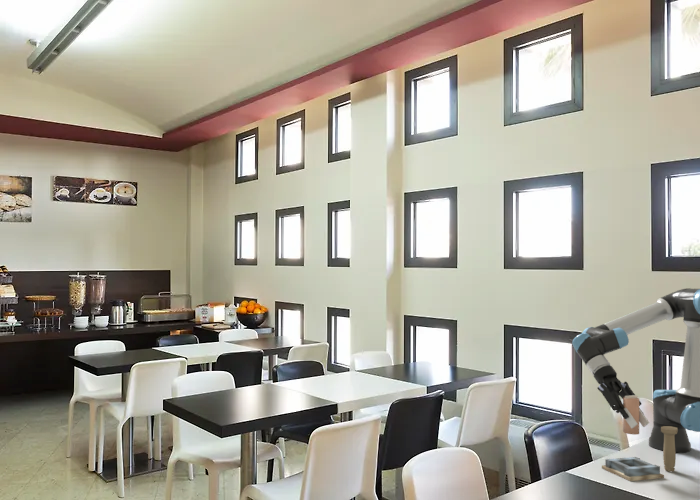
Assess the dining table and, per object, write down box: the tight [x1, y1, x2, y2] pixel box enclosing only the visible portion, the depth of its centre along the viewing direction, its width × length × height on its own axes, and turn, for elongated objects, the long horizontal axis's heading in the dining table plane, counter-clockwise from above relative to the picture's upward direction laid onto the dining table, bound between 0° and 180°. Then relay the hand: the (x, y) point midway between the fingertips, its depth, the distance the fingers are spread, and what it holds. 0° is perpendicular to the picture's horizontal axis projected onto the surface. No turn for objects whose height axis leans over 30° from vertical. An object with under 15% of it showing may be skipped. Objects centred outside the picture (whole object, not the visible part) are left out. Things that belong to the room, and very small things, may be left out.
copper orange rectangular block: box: [622, 394, 640, 435], centre depth 213 cm, size 5×5×13 cm
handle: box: [661, 426, 678, 473], centre depth 216 cm, size 5×6×15 cm
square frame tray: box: [601, 456, 665, 482], centre depth 213 cm, size 14×14×4 cm
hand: (640, 425), depth 210 cm, fingers closed on copper orange rectangular block, 5 cm apart
